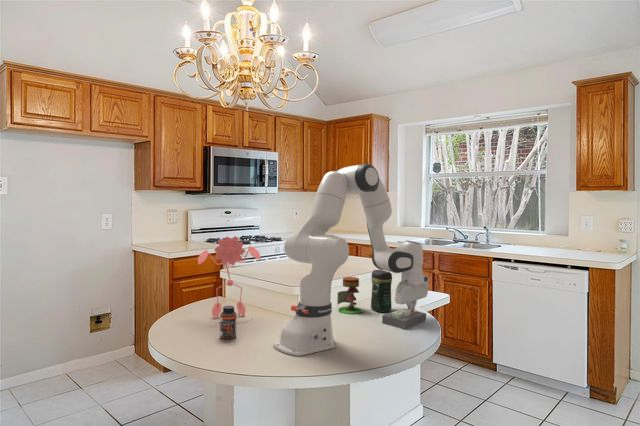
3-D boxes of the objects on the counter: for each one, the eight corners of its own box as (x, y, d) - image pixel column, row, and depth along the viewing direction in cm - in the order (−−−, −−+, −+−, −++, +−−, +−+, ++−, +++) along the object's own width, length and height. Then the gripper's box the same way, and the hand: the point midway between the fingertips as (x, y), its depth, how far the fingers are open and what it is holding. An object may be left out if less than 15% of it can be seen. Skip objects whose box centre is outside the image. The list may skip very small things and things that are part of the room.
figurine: (197, 315, 184) (198, 234, 182) (257, 312, 191) (258, 234, 189) (197, 327, 170) (197, 239, 167) (262, 323, 176) (263, 238, 174)
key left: (398, 320, 173) (398, 314, 173) (391, 318, 176) (391, 312, 176) (403, 318, 176) (403, 312, 176) (396, 317, 178) (396, 310, 178)
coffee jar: (394, 311, 195) (395, 271, 194) (380, 313, 192) (380, 272, 191) (382, 306, 204) (382, 268, 203) (368, 308, 200) (368, 269, 199)
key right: (412, 318, 180) (412, 312, 180) (405, 316, 183) (405, 310, 183) (416, 317, 183) (417, 311, 183) (409, 315, 185) (409, 309, 185)
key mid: (405, 318, 177) (405, 311, 177) (398, 316, 179) (398, 310, 179) (410, 316, 179) (410, 310, 179) (403, 314, 182) (403, 308, 182)
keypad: (404, 329, 170) (405, 321, 170) (382, 323, 178) (382, 315, 177) (426, 321, 181) (426, 313, 181) (404, 315, 189) (404, 308, 189)
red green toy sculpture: (368, 309, 198) (369, 277, 198) (355, 316, 188) (356, 282, 187) (346, 305, 205) (347, 274, 204) (332, 311, 194) (333, 278, 194)
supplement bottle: (220, 340, 154) (220, 309, 154) (219, 335, 160) (219, 305, 159) (237, 339, 156) (237, 308, 155) (235, 333, 162) (236, 304, 161)
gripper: (404, 283, 173) (403, 317, 173) (430, 276, 187) (430, 308, 188) (391, 281, 177) (390, 314, 178) (418, 274, 192) (417, 305, 192)
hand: (411, 310), depth 183 cm, fingers closed, pressing on key right
